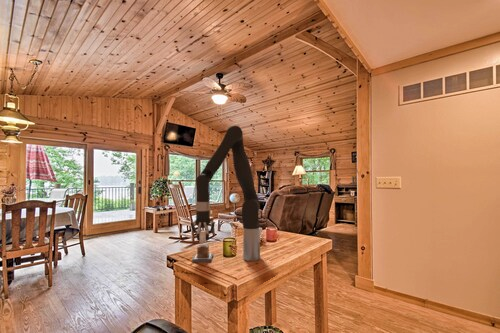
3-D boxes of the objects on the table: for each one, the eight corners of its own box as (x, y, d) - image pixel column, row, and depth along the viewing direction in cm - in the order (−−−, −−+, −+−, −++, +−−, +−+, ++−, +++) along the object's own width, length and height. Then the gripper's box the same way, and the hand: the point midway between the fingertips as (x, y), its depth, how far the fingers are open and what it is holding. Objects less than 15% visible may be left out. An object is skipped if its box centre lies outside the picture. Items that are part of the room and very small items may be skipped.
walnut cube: (208, 254, 139) (208, 244, 139) (207, 257, 134) (207, 247, 134) (199, 254, 139) (199, 244, 139) (197, 257, 133) (197, 247, 133)
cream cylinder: (207, 241, 139) (207, 230, 139) (206, 243, 135) (206, 232, 135) (199, 241, 138) (199, 230, 139) (198, 243, 134) (198, 232, 135)
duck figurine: (251, 247, 164) (258, 235, 159) (245, 238, 169) (252, 227, 164) (264, 243, 172) (271, 232, 167) (258, 235, 177) (265, 224, 172)
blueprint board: (213, 255, 141) (213, 252, 141) (210, 261, 131) (210, 258, 131) (195, 255, 141) (195, 253, 141) (192, 262, 131) (192, 259, 131)
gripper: (216, 208, 141) (216, 238, 141) (191, 208, 140) (191, 238, 140) (215, 210, 133) (214, 242, 133) (188, 210, 133) (188, 242, 132)
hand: (202, 240), depth 136 cm, fingers closed on cream cylinder, 4 cm apart
